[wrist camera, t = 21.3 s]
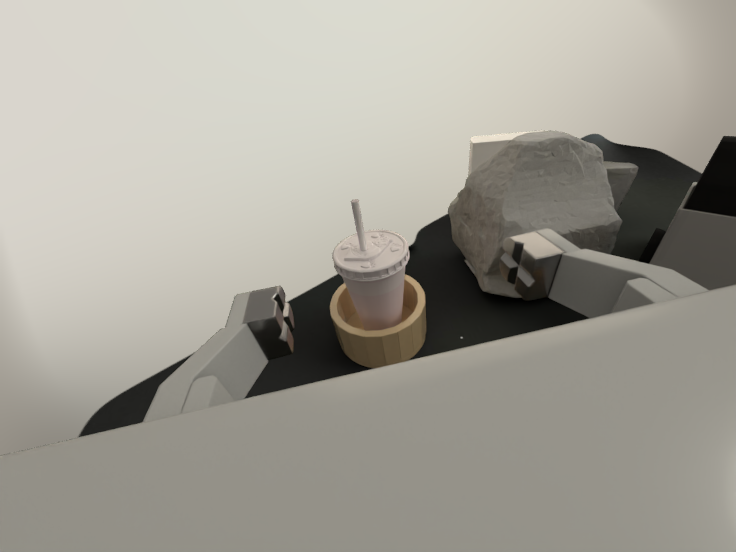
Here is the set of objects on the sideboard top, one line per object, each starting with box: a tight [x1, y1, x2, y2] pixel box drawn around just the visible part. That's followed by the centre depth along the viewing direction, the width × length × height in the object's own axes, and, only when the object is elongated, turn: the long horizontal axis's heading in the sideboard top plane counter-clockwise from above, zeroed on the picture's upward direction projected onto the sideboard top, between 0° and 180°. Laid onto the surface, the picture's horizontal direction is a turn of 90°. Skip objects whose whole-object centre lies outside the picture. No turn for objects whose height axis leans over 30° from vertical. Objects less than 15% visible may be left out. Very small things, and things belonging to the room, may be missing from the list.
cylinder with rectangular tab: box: [468, 130, 545, 176], centre depth 40 cm, size 9×9×12 cm
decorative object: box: [639, 136, 736, 290], centre depth 25 cm, size 8×18×15 cm, turn 133°
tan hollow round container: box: [330, 275, 426, 368], centre depth 29 cm, size 9×9×4 cm
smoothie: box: [333, 199, 409, 331], centre depth 25 cm, size 6×6×14 cm
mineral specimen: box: [603, 161, 639, 212], centre depth 39 cm, size 7×9×8 cm
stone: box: [448, 131, 622, 298], centre depth 30 cm, size 12×12×15 cm
